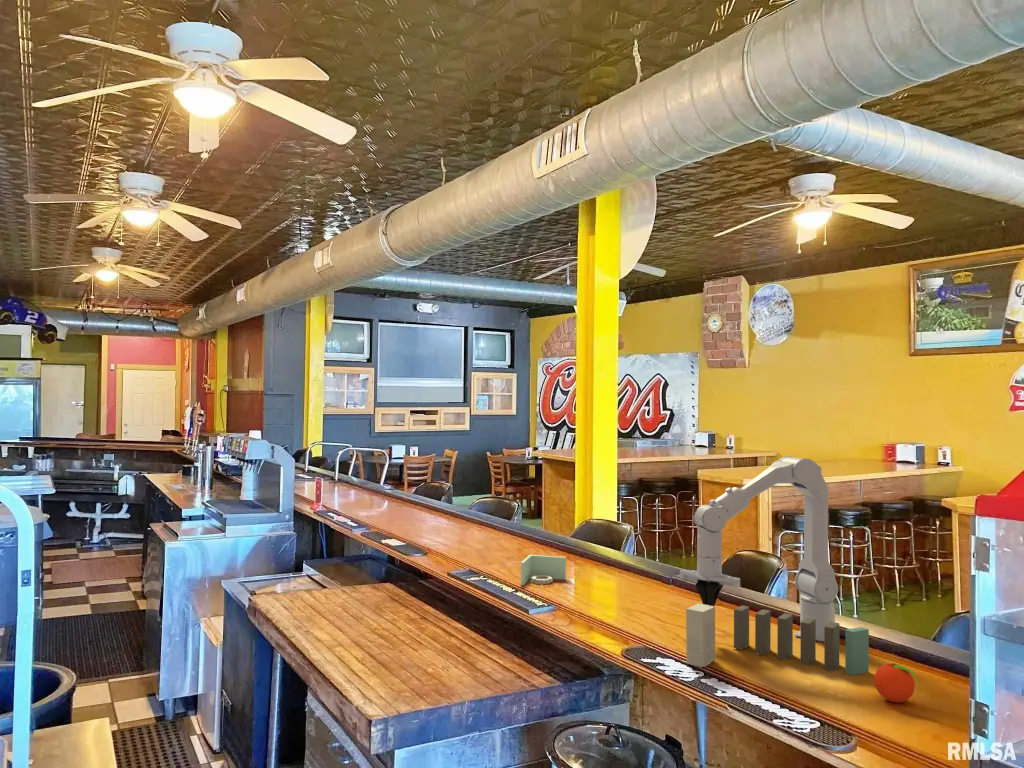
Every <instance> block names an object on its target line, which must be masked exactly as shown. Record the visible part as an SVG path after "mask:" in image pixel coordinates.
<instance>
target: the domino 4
mask: <svg viewBox="0 0 1024 768" xmlns="http://www.w3.org/2000/svg"><path fill="white" fill-rule="evenodd" d="M816 641H817V640H816V619H814V618H808V617H807V618H806V619H804V620H803V621H801V637H800V655H799V656H800V659H799V660H800V662H799V663H801V665H804V664H805V666H810V665H811V664H813V663H814V662H815V661H816V660H817V659H816V656H817V655H816V653H817V652H816V651H817V649H816V647H817V645H816Z"/></svg>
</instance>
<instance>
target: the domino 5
mask: <svg viewBox="0 0 1024 768" xmlns="http://www.w3.org/2000/svg"><path fill="white" fill-rule="evenodd" d="M823 643H824V650H823V651H824V655H823V656H824V659H823V660H824V662H823V663H824V665H823V666H824V668H823V669H824V670H828V671H833V672H834V671H835V670H836V668H838V667H839V666H840V623H839V622H836V621H835V622H830V623H828V624H827V625H826V626H825V627H824V642H823Z"/></svg>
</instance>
